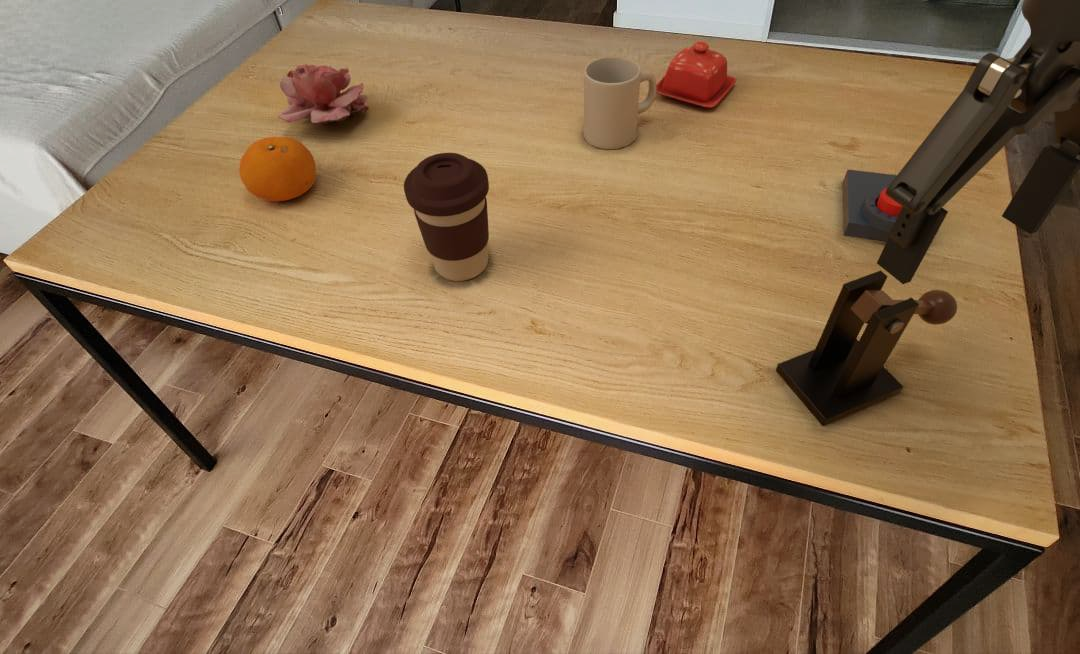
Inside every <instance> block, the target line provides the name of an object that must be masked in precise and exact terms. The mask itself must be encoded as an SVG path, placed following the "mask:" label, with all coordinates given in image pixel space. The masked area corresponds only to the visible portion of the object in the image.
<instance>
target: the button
mask: <svg viewBox="0 0 1080 654" xmlns="http://www.w3.org/2000/svg"><path fill="white" fill-rule="evenodd" d="M886 190H887V188H886V189H884V190H883V191H882V192H881V194H880V197H879V199H878V201H877V208H878V209H879V210H880V211H881V212H884V213H886V214H888V215H890V216H897V217H898V215H899V213H900V211H901V209H902V207H903V206H901V205H900V204H898V203H897V202H895V201H894V200H893V199H891V198H890V197H889V196H887V195H886Z"/></svg>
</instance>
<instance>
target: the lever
mask: <svg viewBox="0 0 1080 654" xmlns="http://www.w3.org/2000/svg"><path fill="white" fill-rule="evenodd" d="M904 300H905V299H893V298H892V297H891V296H890V295H889V294H887V293H886V292H885V291H884V290H882V289H881V290H865V292H864V293H863V294H862V295H861V296H860V297H859V299H858V300H857V301H856V302H855V303H854V305H853V306H852V307H851V308H850V309H851V310H852V311H853V312H854V313H855V314H856V315H857V316H858V317H859V318H860V319H861V320H862V321H863V322H864V325H865V324H866V325H867V324H868V322H869V320H870V318H871V316H872V314H873V313H874V312H876V311H878V310H881V309H884V308H886V307H889V306H891V305H894V304H896V303H899V302H902V301H904ZM914 300H915V301H916V302H917V303H918V304H919V306H918V308H917V309H916V311H915V313H914V314H913V315H918V318H920V319H921V320H922V321H923V322H924V323H927V324H930V325H934V326H935V325H943V324H946V323H948V322H950V321H951V320H953V318H954V317H955V316H956V314H957V311H958V302H957V300H956V299H955V297H954V296H953V295H952V294H951V293H949V292H947V291H945V290H942V289H932V290H928V291H926V292H925V293H923V294H922V295H920V297H919V298H918V299H914Z"/></svg>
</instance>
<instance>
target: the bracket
mask: <svg viewBox="0 0 1080 654" xmlns="http://www.w3.org/2000/svg"><path fill="white" fill-rule="evenodd" d="M887 279H888V275H887V274H886V273H885V272H883V271H882V270H878V271H875V272H873V273H870V274H867V275H864V276H861V277H859V278H857V279H852V280H851V281H847V282H845V283H843V285H842V287H841V289H840V292H839V294H838V296H837V298H836V300H835V303H834V305H833V307H832V310H831V312H830V314H829V317H828V319H827V321H826V323H825V325H824V328H823V331H822V333H821V335H820V337H819V339H818V342H817V345H816V346H815V349H812V350H811V351H807V352H804V353H802V354H799V355H797V356H794V357H792V358H790V359H787V360H784V361H781V362H779V363H778V364H777V365H776V369H775V372H776V373H777V374H778V375H779V376H780V377H781V378H782V380H783V381H784V382H785V383H786V384H787V385H788V387H789V388H790V389H791V390H792V392H793V393H794V394H795V395H796V396H797V397H798V399H799V400H800V401H801V402H802V403H803V405H804V406H805V407H806V408H807V409H808V411H810V413H811V414H812V415H813V417H815V419H816V420H817V421H818V422H819V424H820V425H821V426H822V427H824V426H827V425H829V424H832V423H834V422H836V421H838V420H841V419H843V418H845V417H848V416H850V415H852V414H854V413H857V412H859V411H862V410H864V409H866V408H868V407H871V406H873V405H876V404H878V403H881V402H882V401H885V400H887V399H890V398H893V397H894V396H897V395H899V394H901V393H902V391H903V389H904V387H905V386H904V385H903V384H902V383H901V382H900V381H899V380H898V379H897V378H896V377H895V376H894V375H893V374H892V373H891V372H890V371H889V370H888V369H887V368H886V367H885V364H886V362H887V360H888V359H889V357H890V356H891V354H892V352H893V350H895V347H896V345H897V344H898V342H899V341H900V338H901V337H902V335H903V333H904V332H905V330H906V328H907V327H908V325H909V323H910V321H911V320H912V318H913V316H914V315H915V314H914V313H915V311H916V309H917V308H918V306H919V304H918V303H917V302H916V301H915V300H916V299H914V298H913V297H909V298H907V299H903V300H904V301H902V302H899V303H896V304H894V305H891V306H889V307H886V308H884V309H881V310H878V311H876V312H874V313H873V314H872V316H871V318H870V320H869V322H868V324H866V326H865V328H864V329H863V327H864V325H865V323H864V322H863V321H862V320H861V319H860V318H859V317H858V316H857V315H856V314H855V313H854V312H853V311H852V310H851V309H850V308H851V307H852V306H853V305H854V303H855V302H856V301H857V300H858V299H859V297H860V296H861V295H862V294H863V293H864V292H865V290H882V289H883V287H884V285H885V283H886V281H887ZM862 329H863V330H864V331H863V332H862V334H861V336H860V338H859V340H858V336H859V335H860V333H861V331H862Z"/></svg>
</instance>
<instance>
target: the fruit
mask: <svg viewBox="0 0 1080 654" xmlns="http://www.w3.org/2000/svg"><path fill="white" fill-rule="evenodd" d="M238 172H239V173H238V174H239V177H240V180H241V182H242V183H243V185H244V187H245V189H246V190H247V191H248V192H249V193H251V194H252V195H253V196H255V197H256V198H258V199H261V200H263V201H268V202H269V201H270V202H285V201H289V200H292V199H294V198H297V197H300V196H302V195H304V193H306V192H307V191H308V190H310V189H311V187H312V186H313V184H314V183H315V181H316V176H317V166H316V161H315V159H314V156H313V154H312V153H311V151H310V150H309V149H308V148H307V147H306V146H305V145H304V144H303V143H302V142H301V141H299V140H297V139H295V138H294V137H293V138H292V137H289V136H268V137H267V136H266V137H263V138H260V139H258V140H256V141H254V142H253V143H251V144H250V145H249V147H247V149H246V150H245V152H244V153H243V155H242V157H241V158H240V162H239V167H238Z"/></svg>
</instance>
